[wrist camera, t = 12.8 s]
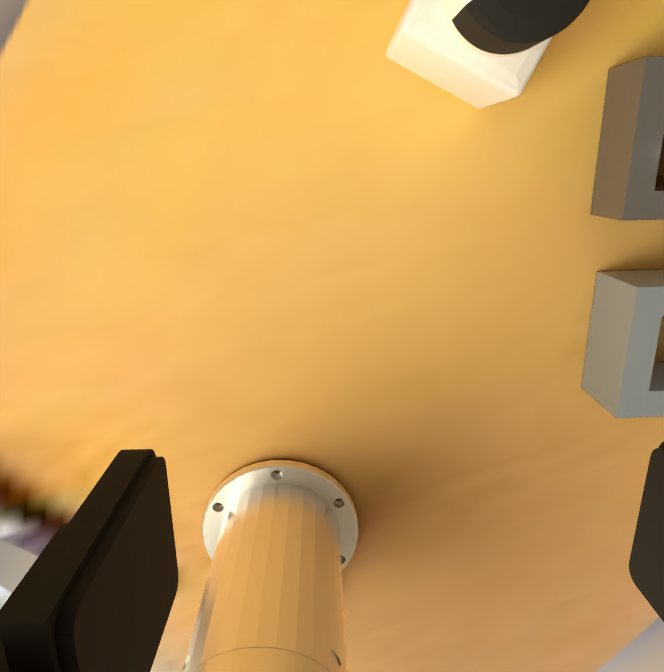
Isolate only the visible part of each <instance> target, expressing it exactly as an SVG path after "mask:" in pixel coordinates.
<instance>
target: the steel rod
mask: <svg viewBox="0 0 664 672" xmlns="http://www.w3.org/2000/svg"><path fill="white" fill-rule="evenodd" d="M657 175H662V176H664V134H663V141H662V147H661V153H660V159H659V165H658V171H657Z"/></svg>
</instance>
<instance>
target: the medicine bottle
mask: <svg viewBox="0 0 664 672" xmlns="http://www.w3.org/2000/svg"><path fill="white" fill-rule="evenodd" d="M588 2H589V0H409V2H408V4H407V6H406V8H405V10H404V12H403V15H402V17H401V19H400V21H399V23H398V25H397V27H396V29H395V32H394V34H393V36H392V38H391V40H390V42H389V44H388V47H387V49H386V56H387V57H388V58H389V59H391V60H392V61H394V62H396V63H398V64H399V65H401V66H403V67H405V68H407V69H408V70H410V71H412V72H414V73H415V74H417V75H419V76H421V77H422V78H424V79H426V80H428V81H430V82H431V83H433V84H435V85H437V86H438V87H440V88H442V89H444V90H445V91H447V92H449V93H451V94H453V95H454V96H456V97H458V98H460V99H461V100H463V101H465V102H467V103H468V104H470V105H472V106H474V107H476V108H478V109H481V108H484V107H487V106H490V105H494V104H497V103H500V102H503V101H506V100H509V99H512V98H515V97H518V96H519V95H520V94H521V93H522V91H523V90H524V88H525V86H526V84H527V82H528V81H529V79H530V77H531V75H532V73H533V72H534V70H535V68H536V66H537V64H538V62H539V61H540V59H541V57H542V55H543V53H544V52H545V50H546V48H547V46H548V44H549V43H550V41H551V39H552V37H553V36H554V35H556V34H558V33H559V32H560V31H562V30H563V29H565V28H566V27H567V26H569V25H570V24H571V23H572V22H573V21H574V20H575V19H576V18H577V17H578V16H579V14H580V13H581V12H582V11H583V10H584V8H585V7H586V5H587V4H588Z"/></svg>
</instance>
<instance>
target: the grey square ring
mask: <svg viewBox="0 0 664 672" xmlns="http://www.w3.org/2000/svg"><path fill="white" fill-rule="evenodd" d="M663 134H664V56H658V57H644V58H641V59H638V60H635V61H631V62H628V63H625V64H622V65H619V66H616V67H613V68H610V69H609V72H608V79H607V87H606V95H605V103H604V111H603V119H602V127H601V134H600V142H599V150H598V158H597V166H596V174H595V181H594V189H593V197H592V205H591V213H590V214H591V215H596V216H602V217H607V218H612V219H617V220H658V219H664V187H655V184H656V177H657V171H658V165H659V159H660V153H661V147H662V141H663Z"/></svg>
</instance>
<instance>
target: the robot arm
mask: <svg viewBox="0 0 664 672" xmlns="http://www.w3.org/2000/svg"><path fill="white" fill-rule="evenodd" d="M276 470H279V471H276ZM358 531H359V530H358V518H357V514H356V510H355V506H354V504H353V502H352V500H351V498H350V496H349V494H348V493H347V491H346V490H345V489H344V488H343V486H342V485H341V484H340V483H339V482H338V481H337V480H335V479H334V478H333V477H332V476H331V475H329V474H327V473H326V472H324V471H322V470H320V469H319V468H317V467H314V466H311V465H308V464H306V463H302V462H296V461H291V460H270V461H263V462H258V463H255V464H252V465H249V466H246V467H243V468H242V469H240V470H238V471H236V472H235V473H233V474H231V475H230V476H229V477H228V478H226V479H225V480H224V481H223V482H222V483H221V484H220V485H219V486H218V487H217V489H216V490H215V491H214V493H213V494H212V496H211V498H210V500H209V502H208V504H207V507H206V511H205V514H204V517H203V525H202V535H203V542H204V545H205V548H206V551H207V553H208V555H209V557H210V559H211V560H212V563H211V567H210V570H209V574H208V578H207V582H206V585H205V589H204V593H203V596H202V600H201V604H200V608H199V611H198V615H197V619H196V622H195V626H194V630H193V633H192V637H191V641H190V645H189V648H188V652H187V656H186V659H185V663H184V667H183V671H182V672H347V664H346V645H345V626H344V608H343V589H342V570H343V569H344V568H345V567H346V566H347V564H348V563H349V561H350V559H351V558H352V556H353V554H354V551H355V548H356V545H357V541H358ZM629 570H630V574H631V577H632V580H633V582H634V583H635V585H636V586H637V588H638V589H639V590H640V592H641V593H642V594H643V595H644V597H645V598H646V599H647V601H648V602H649V603H650V605H651V606H652V607H653V609H654V610H655V611H656V612H657V614H658V615H659V616H660V618H661V619H662V620H663V622H664V442H662V443H661V445H660V446H659V448H657V449H655V450H653V452H652V454H651V457H650V462H649V467H648V472H647V477H646V481H645V486H644V491H643V496H642V501H641V506H640V511H639V516H638V521H637V526H636V531H635V536H634V541H633V546H632V551H631V556H630V561H629ZM177 587H178V567H177V558H176V549H175V540H174V532H173V523H172V514H171V505H170V497H169V488H168V479H167V470H166V463H165V459H164V458H163V457H156V455H155V452H154V451H153V450H152V449H138V450H121V451H120V452H119V453H118V454H117V455H116V457H115V458H114V460H113V461H112V463H111V464H110V465H109V467H108V468H107V470H106V471H105V472H104V474H103V475H102V477H101V478H100V480H99V481H98V482H97V484H96V485H95V487H94V488H93V489H92V491H91V492H90V494H89V495H88V497H87V498H86V499H85V501H84V502H83V504H82V505H81V506H80V508H79V509H78V511H77V512H76V514H75V515H74V516H73V518H72V519H71V521H70V522H68V523H65V524H63V525H62V526H61V527H60V528H59V529H58V531H57V532H56V533H55V535H54V536H53V537H52V539H51V540H50V542H49V543H48V544H47V546H46V547H45V549H44V550H43V551H42V553H41V554H40V555H39V557H38V558H37V560H36V561H35V562H34V564H33V565H32V567H31V568H30V569H29V571H28V572H27V573H26V575H25V576H24V578H23V579H22V581H21V582H20V583H19V585H18V586H17V587H16V589H15V590H14V592H13V593H12V594H11V596H10V597H9V598H8V600H7V601H6V603H5V604H4V605H3V607H2V608H1V610H0V672H150V670H151V667H152V664H153V661H154V658H155V655H156V652H157V649H158V646H159V643H160V640H161V637H162V634H163V631H164V629H165V626H166V623H167V620H168V617H169V614H170V611H171V608H172V605H173V602H174V599H175V596H176V592H177Z"/></svg>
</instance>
